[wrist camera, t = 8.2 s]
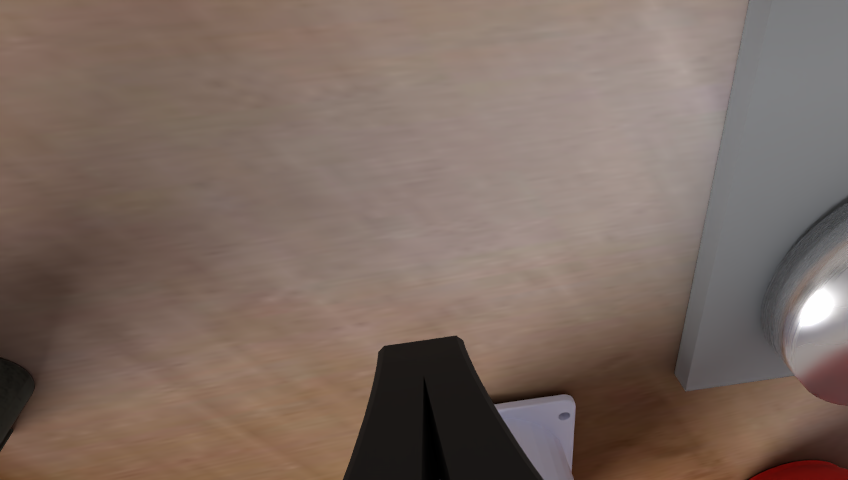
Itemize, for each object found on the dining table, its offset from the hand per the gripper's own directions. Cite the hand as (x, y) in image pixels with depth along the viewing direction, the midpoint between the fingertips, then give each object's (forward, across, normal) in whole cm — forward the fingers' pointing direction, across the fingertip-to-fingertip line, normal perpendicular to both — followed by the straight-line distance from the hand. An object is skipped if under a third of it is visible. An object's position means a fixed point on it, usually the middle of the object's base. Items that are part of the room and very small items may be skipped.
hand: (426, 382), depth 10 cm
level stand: (+9, -18, +4) cm, 21 cm away
